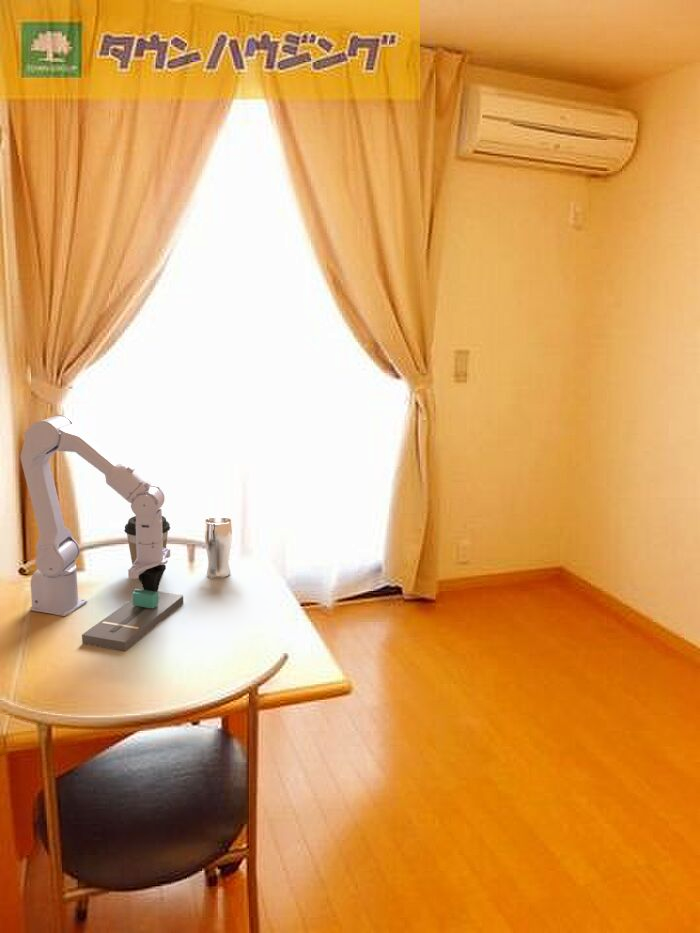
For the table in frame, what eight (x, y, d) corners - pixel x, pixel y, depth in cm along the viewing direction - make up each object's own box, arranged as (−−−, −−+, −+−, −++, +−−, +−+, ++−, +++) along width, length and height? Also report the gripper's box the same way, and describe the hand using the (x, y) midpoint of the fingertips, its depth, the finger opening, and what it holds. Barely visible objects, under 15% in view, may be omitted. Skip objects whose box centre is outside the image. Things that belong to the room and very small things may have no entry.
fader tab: (132, 605, 148) (132, 591, 147) (138, 601, 150) (138, 587, 149) (152, 608, 147) (152, 594, 146) (158, 604, 149) (158, 590, 148)
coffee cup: (142, 563, 179) (140, 510, 175) (179, 569, 175) (178, 515, 172) (116, 578, 168) (114, 522, 165) (155, 585, 165) (153, 528, 161)
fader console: (82, 643, 135) (81, 634, 135) (145, 597, 158) (145, 589, 157) (125, 651, 133) (124, 641, 132) (183, 603, 155) (183, 595, 155)
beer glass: (210, 568, 177) (210, 515, 174) (235, 570, 176) (235, 517, 173) (201, 578, 170) (200, 523, 167) (227, 580, 170) (226, 525, 166)
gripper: (148, 553, 140) (149, 612, 143) (181, 532, 153) (182, 586, 156) (118, 549, 141) (121, 607, 144) (154, 529, 155) (155, 582, 158)
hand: (151, 596), depth 150 cm, fingers closed
